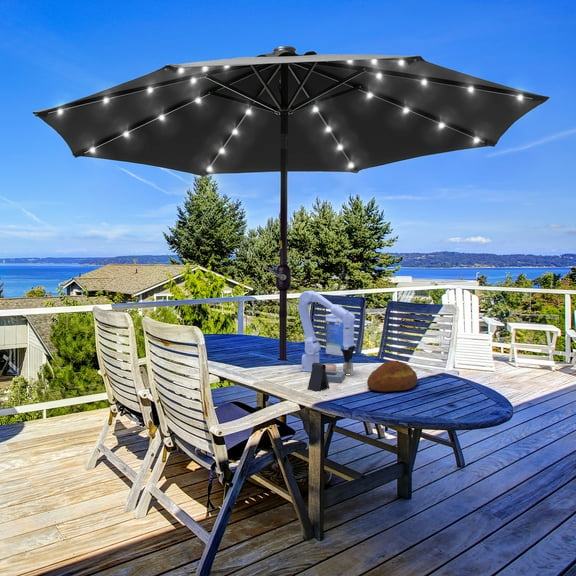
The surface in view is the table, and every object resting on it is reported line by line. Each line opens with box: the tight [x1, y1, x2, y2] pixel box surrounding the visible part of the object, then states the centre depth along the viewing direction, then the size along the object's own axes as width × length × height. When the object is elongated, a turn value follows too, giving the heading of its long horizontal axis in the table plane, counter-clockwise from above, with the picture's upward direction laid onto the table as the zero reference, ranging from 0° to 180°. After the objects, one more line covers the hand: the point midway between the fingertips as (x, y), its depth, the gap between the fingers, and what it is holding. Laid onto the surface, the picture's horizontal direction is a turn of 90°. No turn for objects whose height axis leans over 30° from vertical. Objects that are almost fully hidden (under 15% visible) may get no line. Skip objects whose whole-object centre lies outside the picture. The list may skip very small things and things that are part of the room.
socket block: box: [326, 370, 346, 384], centre depth 237 cm, size 13×12×3 cm
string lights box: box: [325, 313, 344, 357], centre depth 303 cm, size 13×8×26 cm, turn 49°
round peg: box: [324, 363, 337, 371], centre depth 248 cm, size 6×6×5 cm
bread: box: [366, 360, 418, 393], centre depth 224 cm, size 21×33×12 cm, turn 129°
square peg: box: [342, 361, 354, 375], centre depth 248 cm, size 4×4×6 cm
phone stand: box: [307, 362, 330, 392], centre depth 219 cm, size 9×6×12 cm, turn 137°
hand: (348, 360), depth 248 cm, fingers open, 7 cm apart
